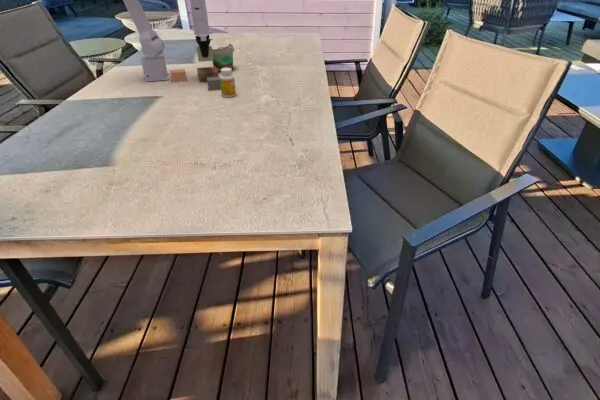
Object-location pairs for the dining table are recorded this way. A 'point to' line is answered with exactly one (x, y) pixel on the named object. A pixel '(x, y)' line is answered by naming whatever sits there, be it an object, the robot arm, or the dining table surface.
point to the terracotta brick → (178, 75)
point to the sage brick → (209, 58)
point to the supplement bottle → (227, 83)
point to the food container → (223, 57)
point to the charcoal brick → (214, 83)
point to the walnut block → (206, 73)
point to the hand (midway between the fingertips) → (205, 55)
